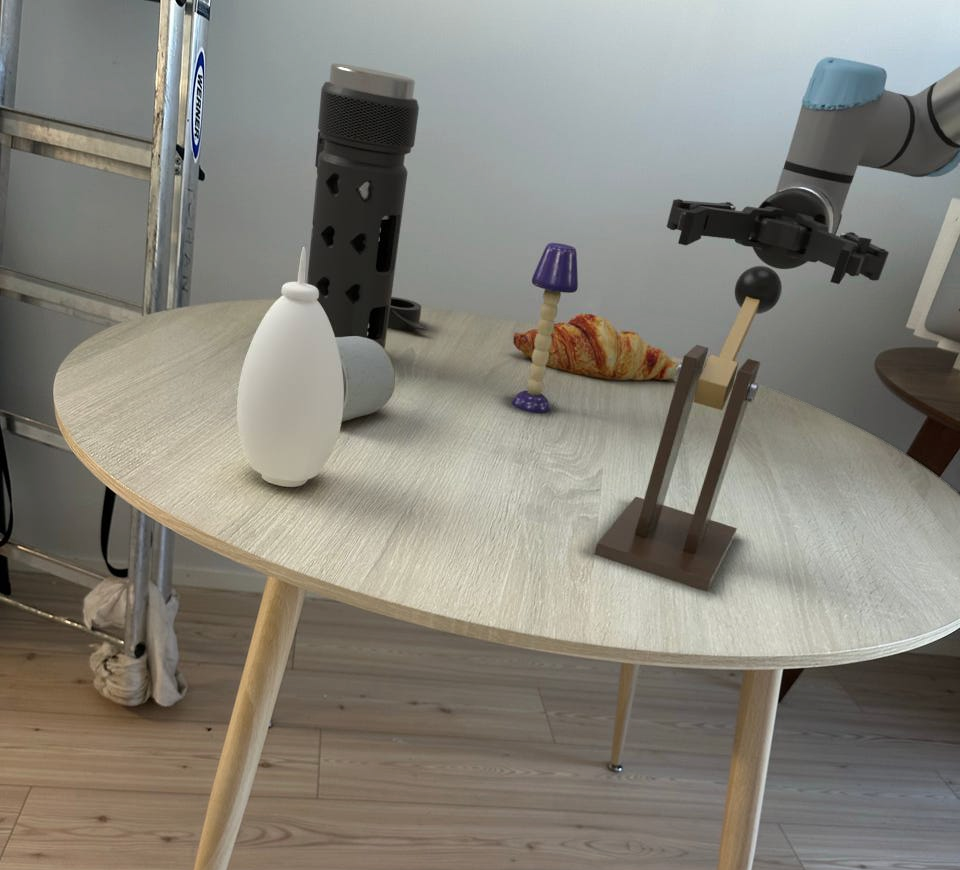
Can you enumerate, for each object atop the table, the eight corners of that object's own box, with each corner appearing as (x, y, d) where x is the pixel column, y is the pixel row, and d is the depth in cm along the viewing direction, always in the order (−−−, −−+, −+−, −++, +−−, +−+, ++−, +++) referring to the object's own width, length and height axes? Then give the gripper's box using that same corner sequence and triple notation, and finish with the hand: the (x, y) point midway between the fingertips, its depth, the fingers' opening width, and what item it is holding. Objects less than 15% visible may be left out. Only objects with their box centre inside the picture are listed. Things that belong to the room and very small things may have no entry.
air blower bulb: (315, 513, 77) (340, 268, 68) (217, 489, 78) (229, 242, 68) (346, 478, 84) (372, 250, 75) (255, 456, 84) (270, 228, 75)
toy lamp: (498, 402, 108) (529, 238, 100) (529, 399, 111) (561, 239, 103) (529, 418, 106) (564, 251, 97) (560, 414, 109) (596, 252, 100)
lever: (738, 288, 84) (746, 251, 81) (781, 300, 83) (791, 262, 80) (683, 405, 77) (690, 370, 74) (729, 419, 76) (738, 383, 73)
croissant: (660, 402, 132) (668, 340, 132) (691, 388, 122) (700, 321, 122) (501, 376, 128) (509, 311, 127) (520, 359, 118) (528, 290, 117)
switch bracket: (631, 511, 89) (681, 329, 81) (732, 542, 87) (793, 359, 79) (592, 559, 79) (645, 357, 71) (705, 596, 77) (772, 392, 69)
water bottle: (274, 349, 110) (349, 378, 107) (296, 56, 96) (383, 77, 93) (329, 338, 118) (402, 365, 114) (357, 65, 104) (441, 84, 100)
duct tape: (424, 321, 133) (428, 298, 131) (426, 342, 124) (430, 318, 123) (365, 311, 131) (368, 288, 130) (363, 332, 123) (366, 307, 121)
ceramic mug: (396, 420, 98) (406, 340, 94) (343, 437, 91) (351, 352, 88) (310, 389, 102) (316, 311, 98) (253, 403, 95) (258, 320, 92)
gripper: (899, 294, 105) (890, 328, 87) (667, 236, 111) (615, 256, 93) (928, 217, 101) (925, 236, 83) (686, 161, 107) (636, 168, 89)
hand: (761, 247), depth 88 cm, fingers open, 13 cm apart
